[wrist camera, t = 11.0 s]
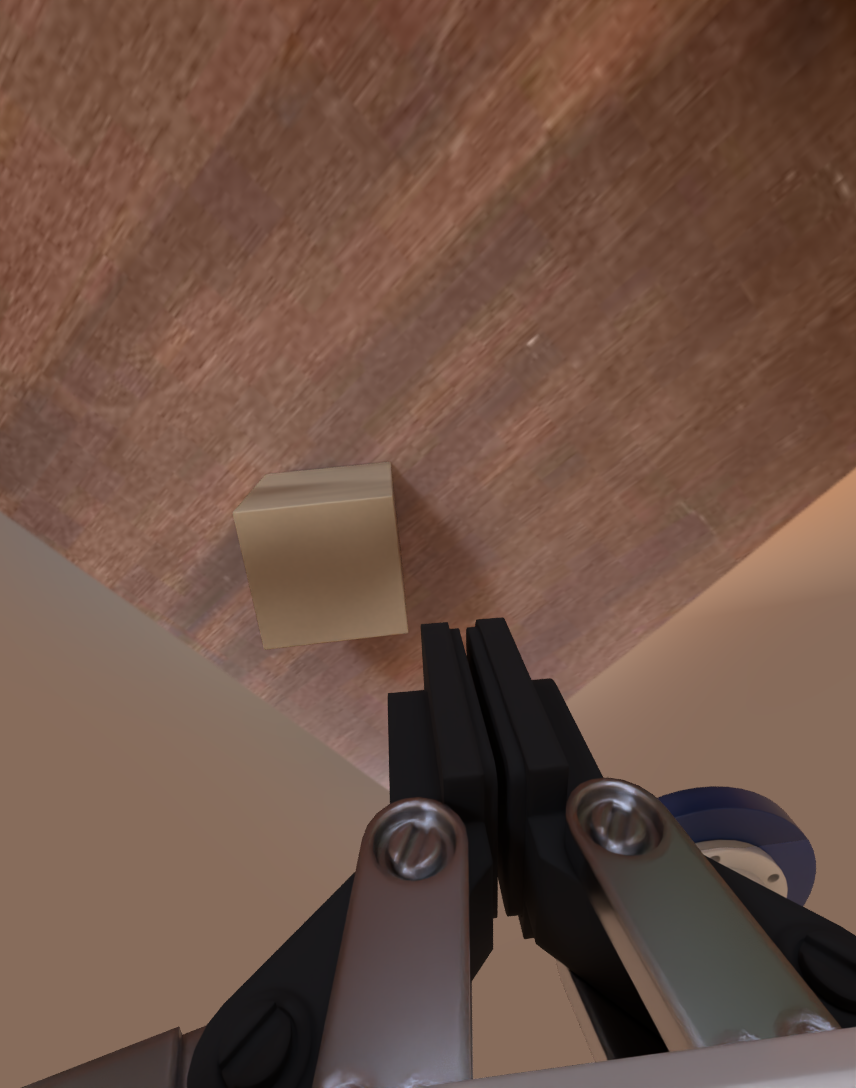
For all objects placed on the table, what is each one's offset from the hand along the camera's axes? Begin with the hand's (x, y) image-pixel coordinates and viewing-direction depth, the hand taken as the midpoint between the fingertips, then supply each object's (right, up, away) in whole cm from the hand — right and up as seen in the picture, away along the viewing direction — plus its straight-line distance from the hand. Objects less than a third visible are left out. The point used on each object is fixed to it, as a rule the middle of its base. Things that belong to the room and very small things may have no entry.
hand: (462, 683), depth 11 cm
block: (-5, +4, +16) cm, 17 cm away
